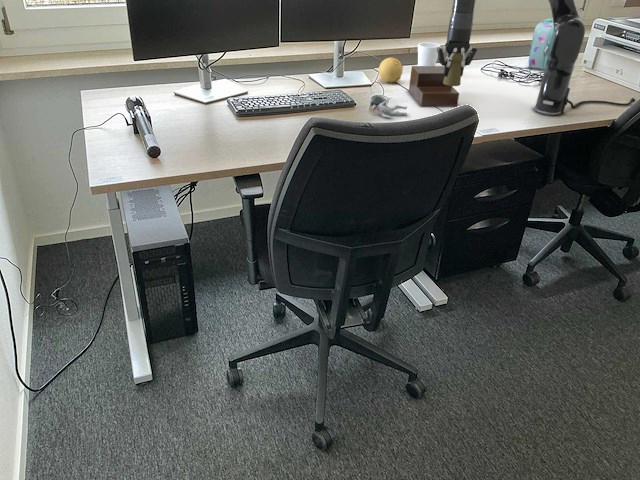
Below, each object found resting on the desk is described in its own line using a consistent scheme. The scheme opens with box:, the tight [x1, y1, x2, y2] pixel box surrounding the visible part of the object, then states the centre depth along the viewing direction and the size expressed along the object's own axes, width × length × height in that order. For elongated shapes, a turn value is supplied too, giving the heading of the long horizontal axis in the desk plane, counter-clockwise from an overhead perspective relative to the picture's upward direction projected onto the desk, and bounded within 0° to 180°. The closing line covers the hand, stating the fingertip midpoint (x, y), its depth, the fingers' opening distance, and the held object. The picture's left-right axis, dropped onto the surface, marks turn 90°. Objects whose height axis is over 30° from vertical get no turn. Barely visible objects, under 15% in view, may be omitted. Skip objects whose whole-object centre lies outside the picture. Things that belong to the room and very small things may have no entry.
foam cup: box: [417, 41, 441, 66], centre depth 233 cm, size 10×9×13 cm
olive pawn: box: [443, 52, 463, 87], centre depth 187 cm, size 6×6×11 cm
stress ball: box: [378, 56, 404, 83], centre depth 224 cm, size 10×10×10 cm
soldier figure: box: [372, 97, 408, 119], centre depth 192 cm, size 8×5×12 cm
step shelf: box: [408, 65, 460, 107], centre depth 208 cm, size 18×14×10 cm
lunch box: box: [528, 17, 555, 71], centre depth 252 cm, size 27×10×21 cm, turn 147°
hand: (452, 77), depth 189 cm, fingers closed on olive pawn, 3 cm apart
